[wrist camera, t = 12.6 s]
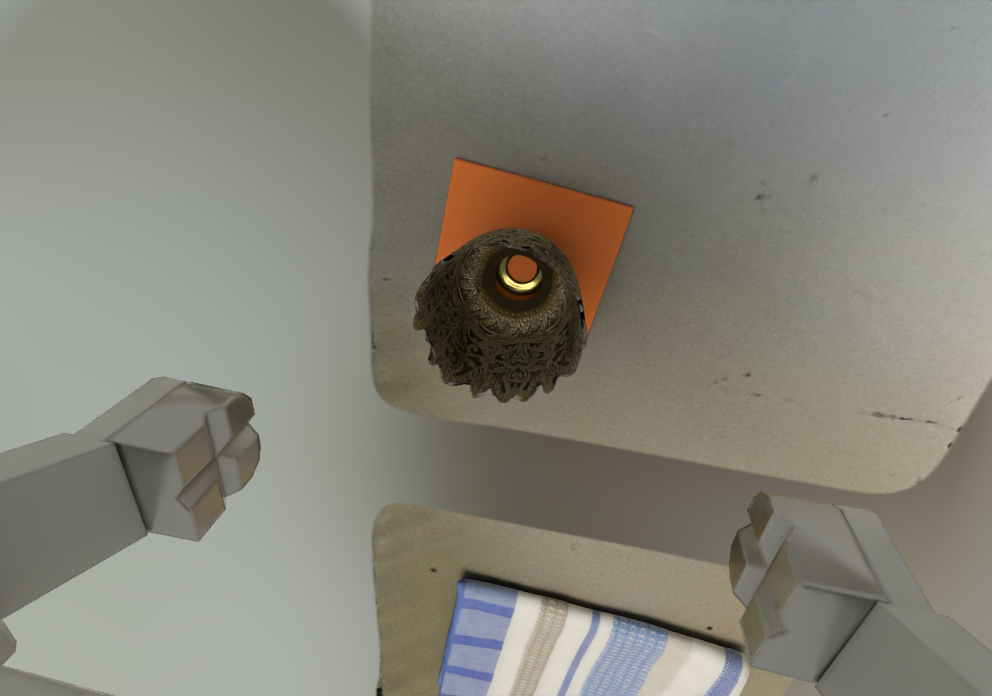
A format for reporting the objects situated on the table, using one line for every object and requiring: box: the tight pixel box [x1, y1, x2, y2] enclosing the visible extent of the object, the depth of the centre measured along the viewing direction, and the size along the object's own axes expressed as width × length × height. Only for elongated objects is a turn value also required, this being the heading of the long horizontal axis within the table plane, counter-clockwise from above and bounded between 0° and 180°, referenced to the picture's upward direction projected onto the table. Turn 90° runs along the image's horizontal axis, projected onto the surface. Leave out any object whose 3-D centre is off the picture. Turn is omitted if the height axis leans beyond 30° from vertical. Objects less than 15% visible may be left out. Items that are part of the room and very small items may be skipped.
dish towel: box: [437, 579, 749, 696], centre depth 44 cm, size 17×24×3 cm
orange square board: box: [435, 158, 633, 335], centre depth 29 cm, size 10×10×1 cm
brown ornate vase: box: [413, 228, 587, 403], centre depth 25 cm, size 8×7×8 cm
